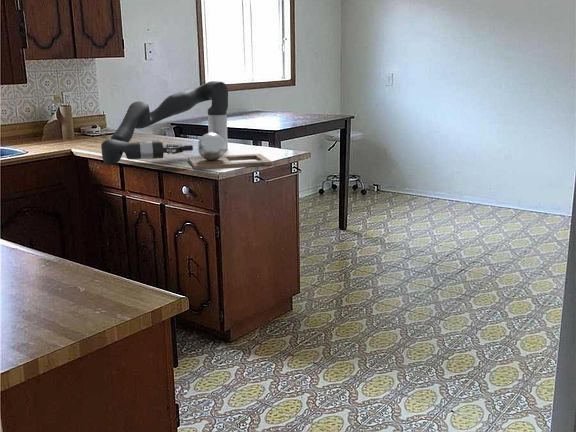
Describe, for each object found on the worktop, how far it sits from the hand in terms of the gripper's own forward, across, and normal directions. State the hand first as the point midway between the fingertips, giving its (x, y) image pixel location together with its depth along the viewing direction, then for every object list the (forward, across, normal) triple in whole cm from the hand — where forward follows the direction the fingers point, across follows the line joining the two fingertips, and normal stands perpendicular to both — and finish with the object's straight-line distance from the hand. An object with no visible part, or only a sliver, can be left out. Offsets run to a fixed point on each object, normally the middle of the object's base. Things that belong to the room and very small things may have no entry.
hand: (192, 147), depth 268 cm
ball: (+8, 0, 0) cm, 8 cm away
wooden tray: (+16, 0, +7) cm, 17 cm away
